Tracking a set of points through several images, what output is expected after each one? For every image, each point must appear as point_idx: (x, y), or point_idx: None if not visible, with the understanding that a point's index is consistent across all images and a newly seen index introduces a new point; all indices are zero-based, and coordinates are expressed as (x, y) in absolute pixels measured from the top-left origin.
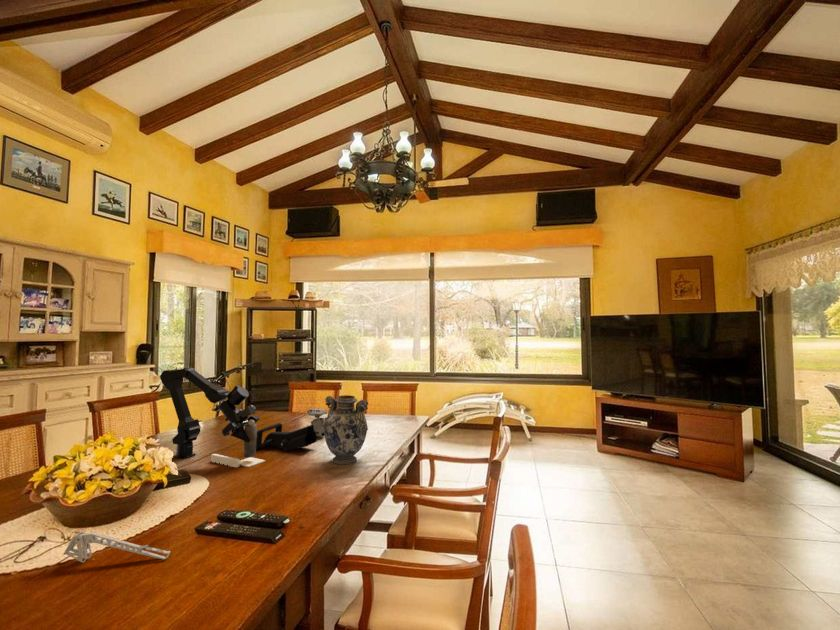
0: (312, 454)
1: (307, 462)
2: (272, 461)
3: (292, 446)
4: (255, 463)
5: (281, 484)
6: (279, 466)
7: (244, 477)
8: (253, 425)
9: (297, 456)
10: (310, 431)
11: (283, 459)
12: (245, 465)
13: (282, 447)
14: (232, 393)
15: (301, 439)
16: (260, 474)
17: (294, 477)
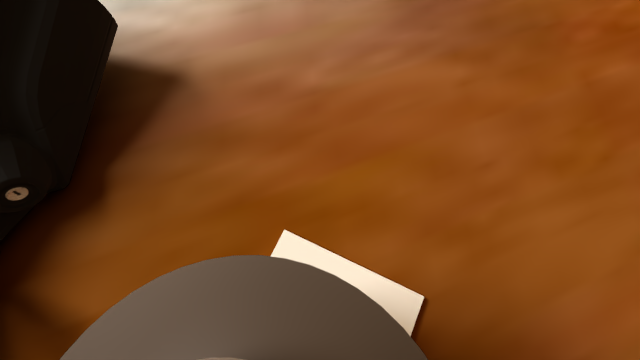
0: (161, 31)
1: (295, 18)
2: (286, 187)
3: (78, 115)
4: (358, 271)
5: (621, 29)
6: (374, 118)
7: (608, 238)
8: (328, 346)
9: (191, 86)
10: None
11: (245, 139)
12: (412, 328)
13: (45, 193)
14: None
15: (71, 18)
16: (527, 167)
17: (516, 9)
